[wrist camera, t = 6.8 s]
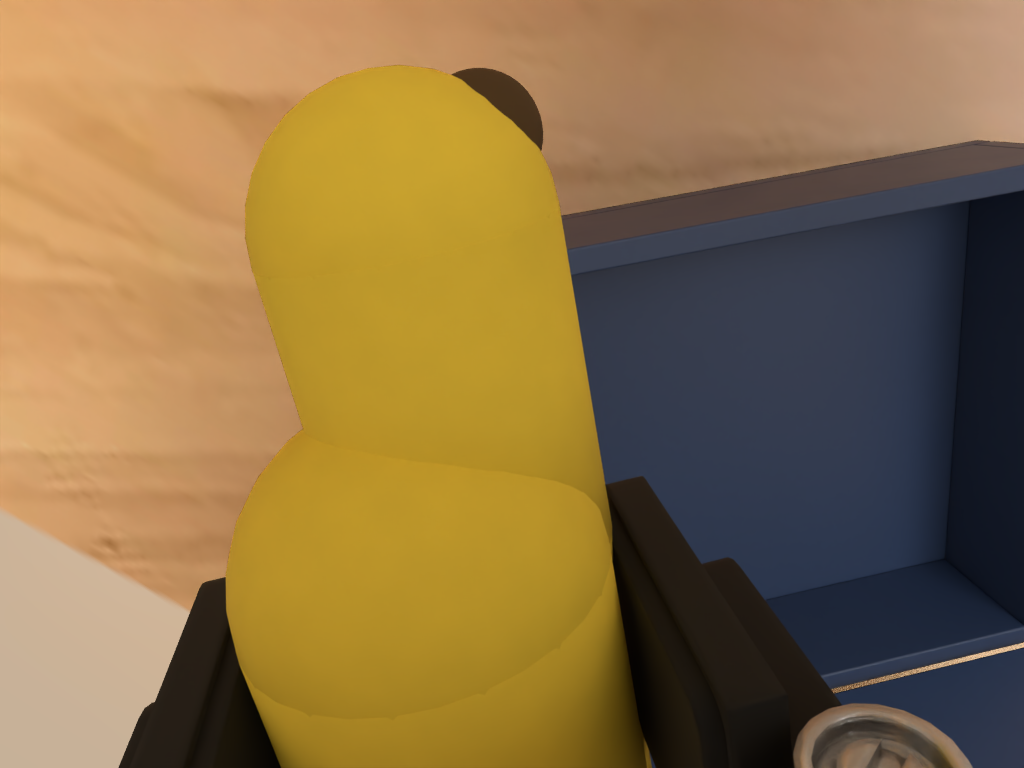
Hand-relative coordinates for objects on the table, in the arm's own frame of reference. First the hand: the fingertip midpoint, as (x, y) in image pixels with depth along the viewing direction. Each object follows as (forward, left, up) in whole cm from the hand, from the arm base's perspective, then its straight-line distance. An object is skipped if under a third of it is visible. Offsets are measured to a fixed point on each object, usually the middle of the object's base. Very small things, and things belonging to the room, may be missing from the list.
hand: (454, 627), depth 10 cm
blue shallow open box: (+6, +10, -15) cm, 19 cm away
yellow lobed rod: (0, 0, -1) cm, 1 cm away
